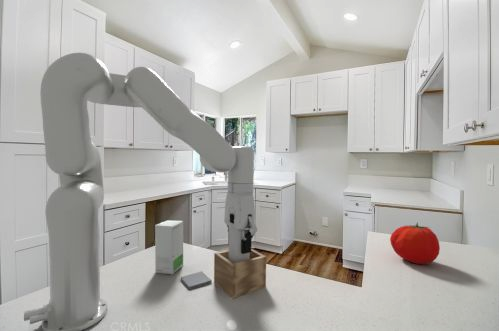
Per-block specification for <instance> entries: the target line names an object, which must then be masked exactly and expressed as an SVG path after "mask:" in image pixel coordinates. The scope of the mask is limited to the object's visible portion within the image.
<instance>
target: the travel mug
mask: <svg viewBox="0 0 499 331" xmlns="http://www.w3.org/2000/svg"><path fill="white" fill-rule="evenodd" d="M234 219H235V218H234V214H230V222H229V223H230V224H229V246H228V250H229V253H228V260H229V261H231V262H232V263H238V262H241V261H245V260H249V259H250V252H249V253H245V254H242V253H241V240H242V239H243V238H242V233H241V230H237V229H235V228H234ZM245 228H248V226H246V227H245ZM247 232H248V230H246V231H245V233H246V234H247Z"/></svg>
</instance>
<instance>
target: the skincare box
mask: <svg viewBox="0 0 499 331" xmlns="http://www.w3.org/2000/svg"><path fill="white" fill-rule="evenodd" d="M154 229H155V232H154V234H155V235H154V236H155V237H154V238H155V239H154V241H155V243H154V245H155V247H154V248H155V250H154V254H155V258H154V259H155V261H154V262H155V266H154V267H155V269H154V270H155V273H157V274H164V275H165V274H166V275H173V274H174V273H175V272H177V271H178V270H179V269H180V268H182V267H183V266H184V221H183V220H171V219H169V220H165V221H162V222H160V223H157V224H155V225H154Z"/></svg>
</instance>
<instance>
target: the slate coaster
mask: <svg viewBox="0 0 499 331" xmlns="http://www.w3.org/2000/svg"><path fill="white" fill-rule="evenodd" d="M180 281H181V282H182V283H183V285H185V286H186V288H187V289H188V290H193V289H196V288H199V287H203V286H207V285H209V284H211V283H212V279H211V278H210V277H209V276H208V275H207V274H205V273H204V272H203V271H198V272H194V273H190V274H187V275H184V276H180Z"/></svg>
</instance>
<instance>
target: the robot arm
mask: <svg viewBox="0 0 499 331" xmlns="http://www.w3.org/2000/svg"><path fill="white" fill-rule="evenodd" d="M41 79H42V80H41V82H40V83H41V84H40V104H41V105H40V106H41V115H42V116H41V117H42V129H43V140H44V149H45V150H44V151H45V162H46V164H47V167H48V168H49V169H50V170H51V171H52V172H53V173H55V174H57V175H58V176H59V177H58V178H59V185H60V186H58V187H57V188H56V189H54V190H53V192H51V193H50V195H49V197H48V199H47V201H46V204H45V211H44V212H45V220H46V227H47V233H48V248H49V249H48V250H49V251H48V253H49V254H48V256H49V298H50V299H49V301H48V304H44V305H43V306H42V307H40V308H39V307H38V308H33V309H30V310H29V309H28V310H26V311H24V312H23V322H27V321H29V325H32V324H36V323H39V322H41V331H84V330H86V329H89V328H90V327H92V326H93V325H95V324H97V323H99V321H100V320H102V319H103V318H104V317H105V316H106V314H107V311H108V303H107V302H106V300H104V299H102V298H101V273H100V271H101V266H100V265H101V264H100V262H101V259H100V254H101V253H100V252H101V251H100V250H101V249H100V248H101V247H100V223H99V209H100V207H101V206H102V204H103V203H104V198H105V197H104V196H105V192H104V191H105V190H104V180H103V172H102V161H101V160H102V159H101V153H100V150H99V148H98V147H97V145H96V144H95V143H93V141H92V138H91V131H90V117H89V110H88V102H90V103H93V104H94V103H95V104H97V105H98V104H99V105H107V106H115V107H116V106H117V107H125V108H126V107H129V108H142V109H143V110H145V112H146V113H147V114H148V115H149V116H151V118H153V120H154V121H155V122H156V123H158V125H159V126H161V128H162V129H163V130H165V131H166V132H167V133H169V134H170V135H171V136H173V137H175V138H177V139H179V140H180V141H182V142H184V144H187V145H188V147H190V148H192V149H193V150H194V151H195V152H196V153H197V154H198V155H199V162H200V164H201V166H202V167H203V168H204V169H206V170H207V171H211V172H214V173H215V172H216V173H227V192H226V195H225V196H226V197H225V205H224V224H225V225H226V227H227V233H228V240H227V243H228V247H229V224H230V223H229V222H230V214H234V218H235V219H234V228H235V229H237V230H241V233H242V238H243V239H242V240H241V253H242V254H245V253H249V252H251V249H252V241H253V239H254V236H255V234H256V233H257V231H258V228H257V225H256V223H255V222H256V216H255V215H256V214H255V213H256V212H255V211H256V210H255V209H256V208H255V207H256V206H255V199H254V198H255V197H254V172H255V171H254V170H255V167H254V165H255V164H254V163H255V150H254V149H253V147H251V146H246V145H244V146H242V145H241V146H239V145H235V146H232V145H231V144H230V143H229V142H228V141H227V140H226V139H225V138H224V136H222V135H221V134H220V132H219V131H218V130H217V129H216V128H214V127H213V126H212V125H211V124H210V123H209V122H208V121H206V120H205V119H204V118H202V117H201V116H200V115H199V114H197V113H196V112H194V111H193V110H192V109H191V108H190V107H189V106H188V105H187V104H186V103H185V102H184V101H183V100H182V99H181V98H180V97H179V96H178V95H177V93H176V92H175V91H173V90H172V88H171V87H169V85H168V84H167V83H166V82H165V81H164V80H163V79H162V78H161V77H160V76H159V75H158V74H157V73H156V72H155V71H153V70H152V69H151V68H148V67H146V66H137V67H134V68H132V69H130V71H128V72H127V74H126V75H124V74H117V73H111V72H109V70H108V69H107V66H106V65H105V64H104V63H103V62H102V61H101V60H100V59H98V58H97V57H96V56H93V55H92V54H89V53H86V52H73V53H69V54H65V55H63V56H60V57H59V58H57V59H56V60H54V61H53V62H52V63H51V64H50V65H49V66H48V67H47V69H46V70H45V72H44V74H43V76H42V78H41ZM246 226H248V228H245V227H246ZM246 230H248V232H247V234H246V233H245V231H246Z"/></svg>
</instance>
